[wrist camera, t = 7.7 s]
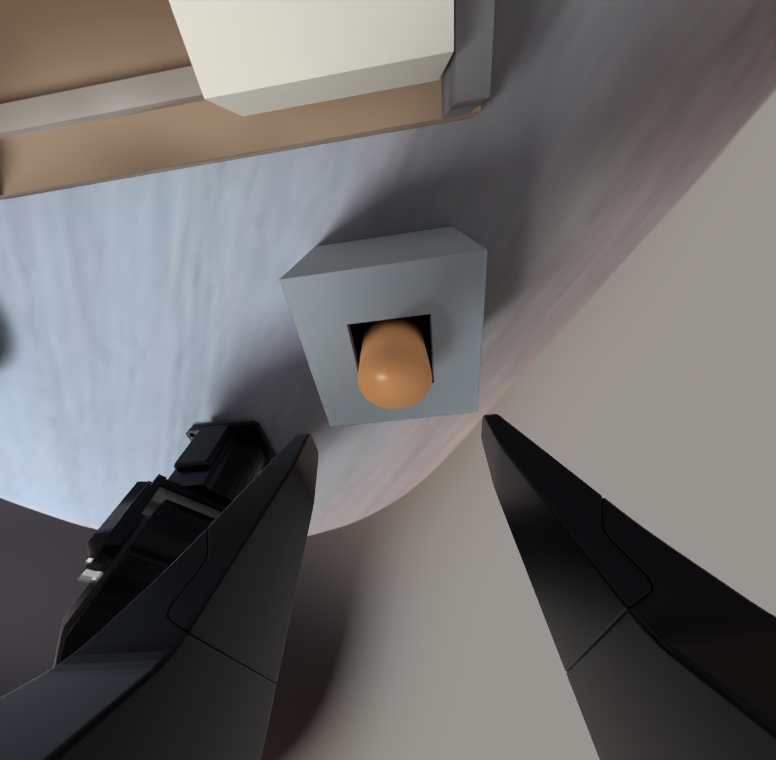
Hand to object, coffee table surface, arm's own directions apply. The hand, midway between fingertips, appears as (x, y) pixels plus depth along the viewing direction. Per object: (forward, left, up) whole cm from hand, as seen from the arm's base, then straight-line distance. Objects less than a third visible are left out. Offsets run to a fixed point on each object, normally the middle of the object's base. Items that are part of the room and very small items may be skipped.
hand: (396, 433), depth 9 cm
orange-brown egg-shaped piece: (0, 0, -7) cm, 7 cm away
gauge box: (0, 0, -12) cm, 12 cm away
